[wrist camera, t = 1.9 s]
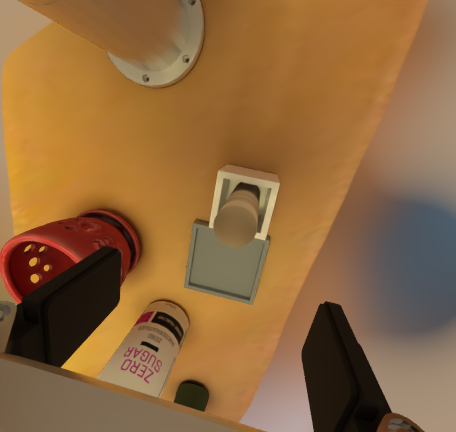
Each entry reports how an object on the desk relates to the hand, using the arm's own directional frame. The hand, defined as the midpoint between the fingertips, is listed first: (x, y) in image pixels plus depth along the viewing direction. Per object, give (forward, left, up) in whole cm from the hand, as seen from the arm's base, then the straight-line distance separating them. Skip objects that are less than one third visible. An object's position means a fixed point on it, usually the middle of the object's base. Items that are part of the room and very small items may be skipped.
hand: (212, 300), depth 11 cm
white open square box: (0, 0, -23) cm, 23 cm away
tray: (+11, -1, -23) cm, 25 cm away
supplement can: (+25, -9, -23) cm, 35 cm away
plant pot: (+13, -20, -23) cm, 33 cm away
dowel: (0, 0, -22) cm, 22 cm away
